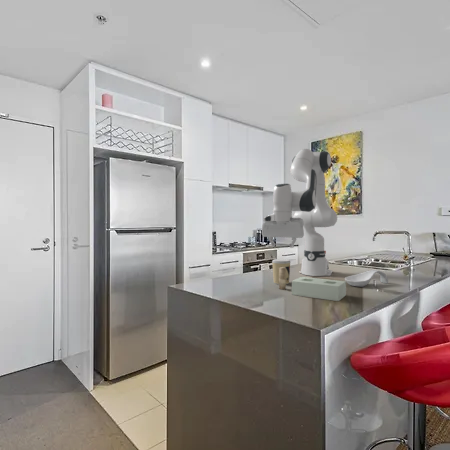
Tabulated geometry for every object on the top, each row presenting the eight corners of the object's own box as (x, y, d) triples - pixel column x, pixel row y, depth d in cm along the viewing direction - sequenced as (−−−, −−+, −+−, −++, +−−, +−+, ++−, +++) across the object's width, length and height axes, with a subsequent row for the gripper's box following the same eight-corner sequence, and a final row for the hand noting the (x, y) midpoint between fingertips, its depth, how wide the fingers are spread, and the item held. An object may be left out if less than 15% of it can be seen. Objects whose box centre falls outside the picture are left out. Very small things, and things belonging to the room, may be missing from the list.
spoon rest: (356, 289, 148) (356, 274, 148) (339, 284, 159) (339, 270, 159) (394, 285, 156) (394, 271, 156) (375, 281, 167) (375, 267, 167)
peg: (280, 287, 151) (280, 267, 151) (286, 288, 149) (286, 267, 149) (278, 289, 149) (278, 268, 148) (284, 289, 147) (284, 268, 147)
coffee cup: (290, 285, 157) (290, 261, 156) (271, 284, 159) (271, 261, 158) (290, 281, 166) (290, 259, 166) (272, 281, 168) (272, 258, 167)
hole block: (301, 289, 148) (301, 276, 148) (345, 295, 136) (345, 281, 136) (291, 294, 138) (291, 281, 138) (338, 301, 126) (338, 286, 126)
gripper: (306, 217, 145) (305, 247, 145) (266, 217, 156) (266, 245, 157) (301, 217, 140) (300, 248, 140) (260, 217, 151) (260, 246, 151)
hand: (282, 247), depth 148 cm, fingers open, 8 cm apart
